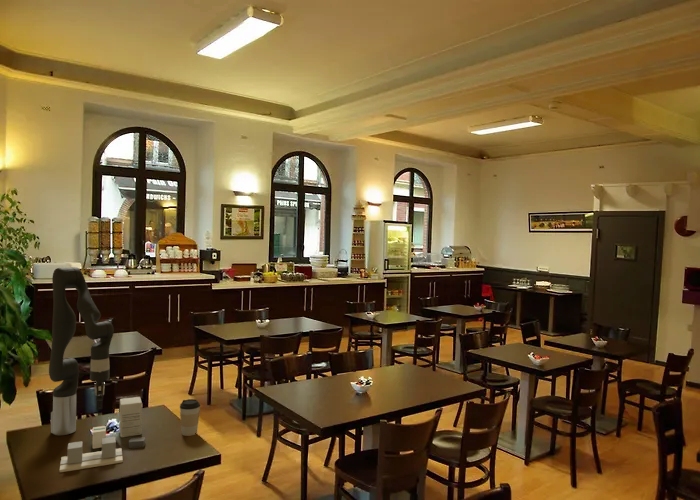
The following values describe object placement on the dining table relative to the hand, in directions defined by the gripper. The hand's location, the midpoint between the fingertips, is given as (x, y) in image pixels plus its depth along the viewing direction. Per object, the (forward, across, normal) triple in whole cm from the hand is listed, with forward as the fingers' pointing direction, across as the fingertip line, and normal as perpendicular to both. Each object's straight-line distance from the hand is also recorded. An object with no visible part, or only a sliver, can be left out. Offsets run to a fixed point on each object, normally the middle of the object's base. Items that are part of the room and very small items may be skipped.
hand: (99, 405), depth 218 cm
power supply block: (+17, +7, +15) cm, 24 cm away
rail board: (+17, +15, -3) cm, 23 cm away
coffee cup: (+17, +1, +37) cm, 41 cm away
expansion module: (+17, 0, 0) cm, 17 cm away
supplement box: (+17, -9, +13) cm, 23 cm away
